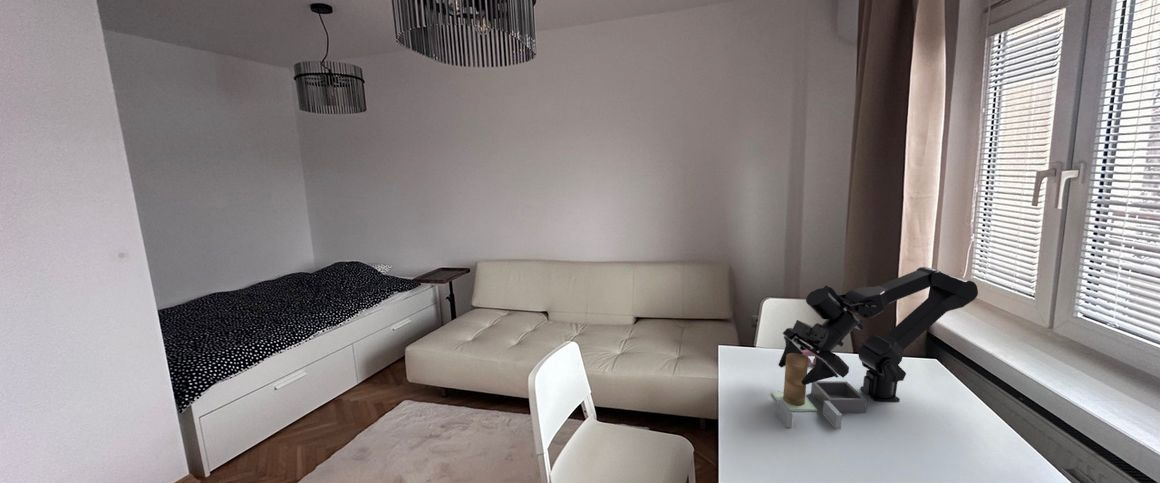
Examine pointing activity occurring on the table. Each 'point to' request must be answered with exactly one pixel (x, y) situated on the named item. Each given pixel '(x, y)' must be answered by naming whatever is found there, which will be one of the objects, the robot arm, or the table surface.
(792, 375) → the walnut post
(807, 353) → the video game controller
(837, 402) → the gray open box
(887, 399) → the robot arm
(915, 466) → the table surface
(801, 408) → the pad
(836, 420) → the channel
